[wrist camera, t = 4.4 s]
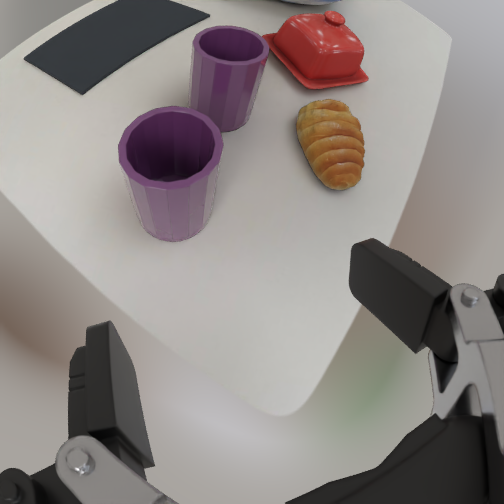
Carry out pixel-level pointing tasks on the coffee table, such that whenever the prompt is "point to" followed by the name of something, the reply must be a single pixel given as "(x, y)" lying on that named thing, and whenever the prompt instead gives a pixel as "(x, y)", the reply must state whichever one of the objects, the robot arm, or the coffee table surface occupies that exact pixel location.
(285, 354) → the coffee table surface
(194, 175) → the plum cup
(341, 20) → the butter dish
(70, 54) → the mat
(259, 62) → the plum cup side
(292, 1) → the ramen bowl
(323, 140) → the pastry
